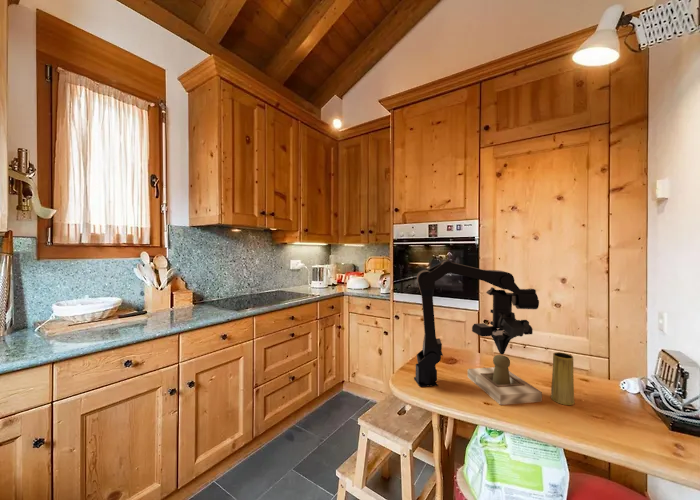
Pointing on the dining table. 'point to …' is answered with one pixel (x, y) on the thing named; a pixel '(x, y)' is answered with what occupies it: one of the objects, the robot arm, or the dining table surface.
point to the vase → (562, 379)
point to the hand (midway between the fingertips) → (501, 354)
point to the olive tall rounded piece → (501, 370)
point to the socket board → (505, 387)
